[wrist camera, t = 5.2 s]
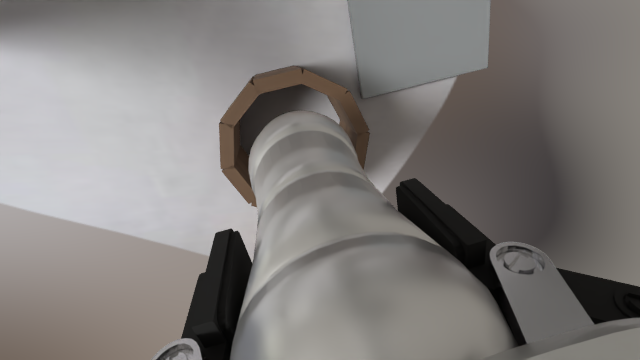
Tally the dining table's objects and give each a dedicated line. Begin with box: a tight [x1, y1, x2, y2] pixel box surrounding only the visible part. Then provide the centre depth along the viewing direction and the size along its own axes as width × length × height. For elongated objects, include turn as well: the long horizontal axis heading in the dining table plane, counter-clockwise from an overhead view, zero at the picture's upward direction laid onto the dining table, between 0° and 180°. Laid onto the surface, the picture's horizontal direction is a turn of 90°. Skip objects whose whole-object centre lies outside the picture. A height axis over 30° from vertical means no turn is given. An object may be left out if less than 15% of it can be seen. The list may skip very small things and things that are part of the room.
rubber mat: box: [347, 0, 491, 99], centre depth 25 cm, size 13×13×1 cm
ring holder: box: [219, 66, 370, 207], centre depth 25 cm, size 12×12×6 cm
